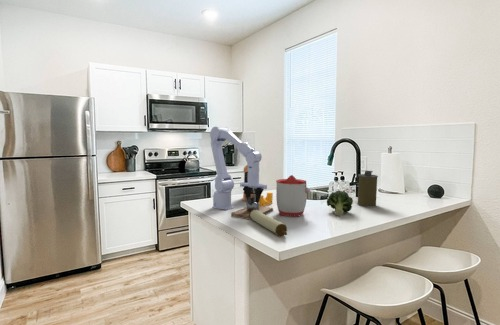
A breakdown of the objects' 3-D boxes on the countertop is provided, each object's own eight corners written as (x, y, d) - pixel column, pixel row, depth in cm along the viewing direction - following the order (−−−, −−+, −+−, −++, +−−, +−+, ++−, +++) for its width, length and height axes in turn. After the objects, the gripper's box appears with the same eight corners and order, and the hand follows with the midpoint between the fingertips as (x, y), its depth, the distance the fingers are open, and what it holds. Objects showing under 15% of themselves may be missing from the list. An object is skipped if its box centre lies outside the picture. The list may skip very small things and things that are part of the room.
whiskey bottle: (259, 201, 176) (260, 148, 174) (243, 201, 176) (243, 148, 173) (258, 197, 187) (259, 147, 184) (243, 197, 187) (243, 147, 184)
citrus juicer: (310, 219, 139) (311, 177, 137) (274, 217, 142) (274, 176, 140) (309, 211, 154) (310, 173, 152) (276, 209, 157) (277, 172, 155)
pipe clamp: (266, 202, 174) (266, 192, 174) (272, 203, 172) (272, 192, 171) (254, 206, 164) (254, 195, 164) (261, 207, 162) (261, 196, 161)
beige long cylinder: (245, 218, 139) (245, 207, 139) (256, 216, 142) (256, 206, 141) (280, 240, 110) (280, 227, 110) (292, 238, 112) (292, 225, 112)
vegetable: (320, 210, 148) (324, 192, 160) (337, 226, 149) (340, 208, 161) (339, 199, 140) (342, 182, 152) (357, 217, 142) (358, 198, 154)
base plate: (231, 215, 143) (231, 212, 143) (251, 207, 161) (251, 204, 161) (254, 219, 137) (254, 216, 137) (272, 210, 154) (273, 207, 154)
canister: (377, 204, 172) (378, 170, 170) (375, 208, 163) (377, 172, 161) (357, 202, 177) (359, 169, 175) (355, 205, 168) (356, 171, 166)
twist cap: (243, 210, 147) (243, 196, 146) (251, 207, 154) (251, 193, 153) (254, 212, 144) (254, 197, 143) (262, 209, 151) (262, 195, 150)
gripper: (236, 175, 147) (236, 201, 149) (262, 177, 140) (262, 205, 141) (244, 173, 153) (243, 199, 155) (269, 175, 146) (268, 202, 147)
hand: (253, 201), depth 148 cm, fingers open, 4 cm apart
